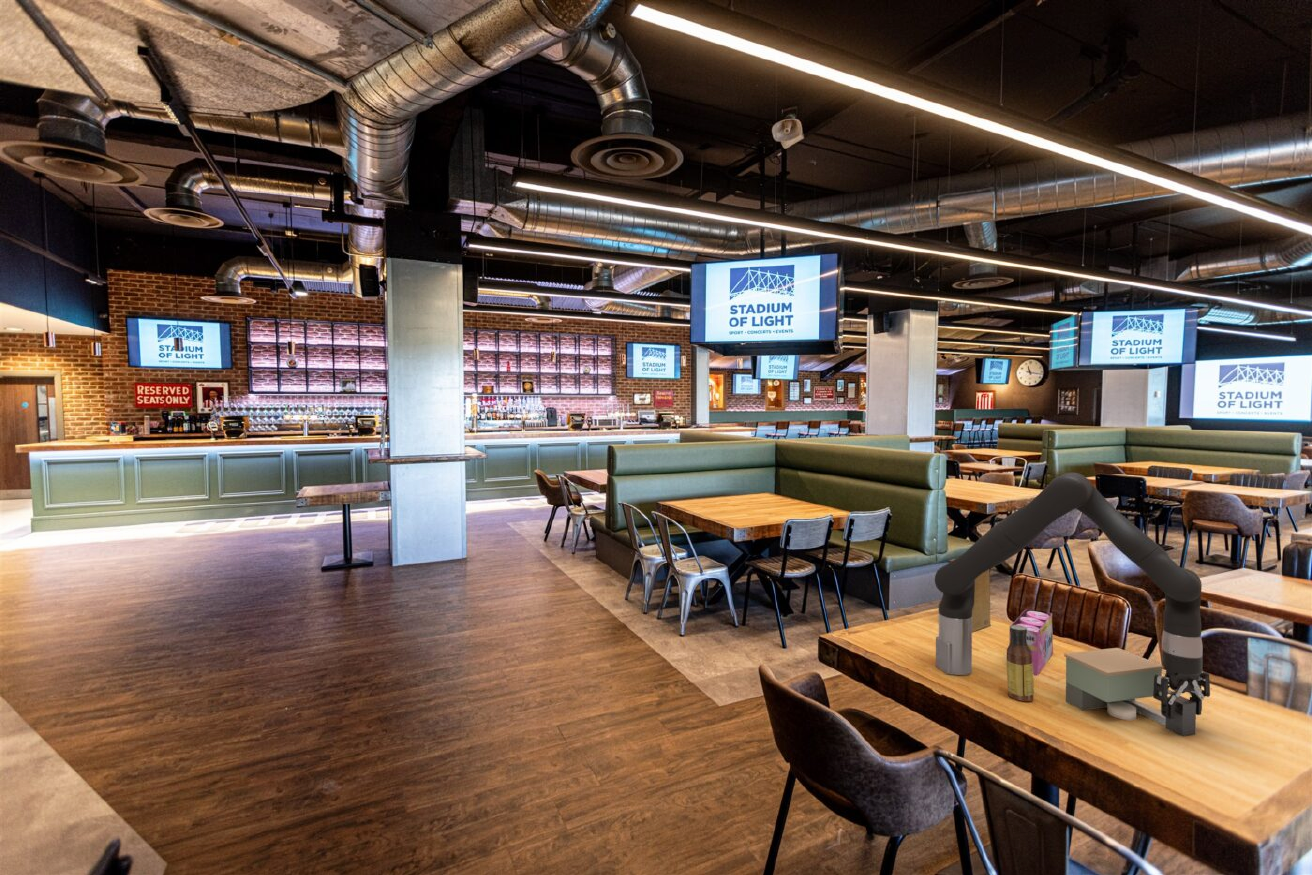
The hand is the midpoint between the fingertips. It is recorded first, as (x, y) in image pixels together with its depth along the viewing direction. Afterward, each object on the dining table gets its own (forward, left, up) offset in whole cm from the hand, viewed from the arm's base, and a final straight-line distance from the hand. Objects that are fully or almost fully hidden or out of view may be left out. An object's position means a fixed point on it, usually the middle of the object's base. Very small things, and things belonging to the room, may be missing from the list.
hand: (1181, 715), depth 147 cm
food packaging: (+2, +76, -4) cm, 76 cm away
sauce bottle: (-24, +24, -4) cm, 34 cm away
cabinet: (-6, +13, -4) cm, 15 cm away
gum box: (-1, +44, -4) cm, 44 cm away
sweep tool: (0, +6, -4) cm, 7 cm away
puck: (-6, +10, -4) cm, 13 cm away
